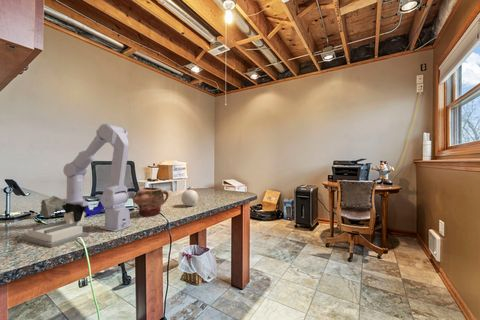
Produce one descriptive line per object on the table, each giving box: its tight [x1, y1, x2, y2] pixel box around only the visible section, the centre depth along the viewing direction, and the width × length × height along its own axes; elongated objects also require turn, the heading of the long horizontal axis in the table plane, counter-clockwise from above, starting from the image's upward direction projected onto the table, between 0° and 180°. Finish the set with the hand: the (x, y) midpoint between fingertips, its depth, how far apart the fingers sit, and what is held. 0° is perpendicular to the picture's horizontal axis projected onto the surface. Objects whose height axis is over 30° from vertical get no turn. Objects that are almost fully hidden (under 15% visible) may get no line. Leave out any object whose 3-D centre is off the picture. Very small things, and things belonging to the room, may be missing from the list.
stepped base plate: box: [20, 219, 90, 248], centre depth 80 cm, size 18×12×4 cm, turn 69°
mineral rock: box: [39, 195, 66, 219], centre depth 109 cm, size 13×11×10 cm
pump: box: [63, 212, 86, 225], centre depth 96 cm, size 4×8×5 cm, turn 159°
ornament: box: [181, 186, 199, 207], centre depth 136 cm, size 10×10×12 cm
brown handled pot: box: [133, 187, 169, 217], centre depth 115 cm, size 20×12×14 cm, turn 150°
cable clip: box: [84, 200, 104, 218], centre depth 112 cm, size 12×4×6 cm, turn 169°
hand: (74, 220), depth 96 cm, fingers closed on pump, 4 cm apart
